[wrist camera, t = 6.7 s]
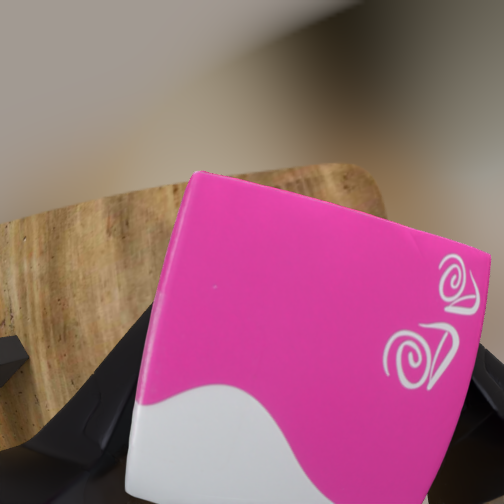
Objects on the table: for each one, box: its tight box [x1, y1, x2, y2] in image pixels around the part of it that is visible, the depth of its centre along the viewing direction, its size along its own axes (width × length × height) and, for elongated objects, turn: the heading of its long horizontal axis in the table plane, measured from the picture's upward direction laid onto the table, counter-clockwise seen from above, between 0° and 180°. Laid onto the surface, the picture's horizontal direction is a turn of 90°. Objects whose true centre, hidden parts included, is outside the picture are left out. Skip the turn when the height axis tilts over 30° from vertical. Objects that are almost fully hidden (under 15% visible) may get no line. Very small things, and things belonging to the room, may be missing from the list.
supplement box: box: [125, 171, 491, 504], centre depth 10 cm, size 6×6×12 cm
